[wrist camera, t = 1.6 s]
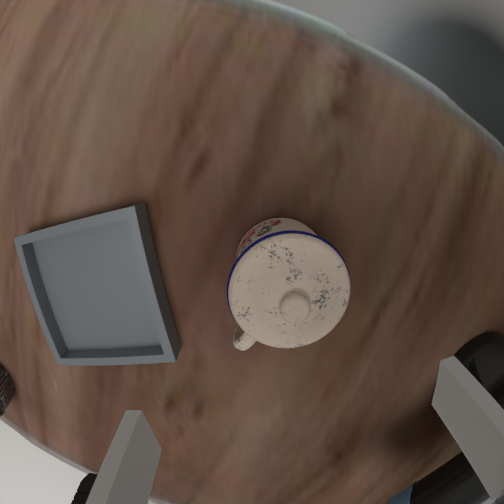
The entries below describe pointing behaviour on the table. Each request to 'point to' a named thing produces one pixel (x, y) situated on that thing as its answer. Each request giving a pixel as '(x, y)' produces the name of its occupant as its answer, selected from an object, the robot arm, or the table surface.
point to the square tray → (100, 290)
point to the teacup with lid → (286, 286)
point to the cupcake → (5, 389)
